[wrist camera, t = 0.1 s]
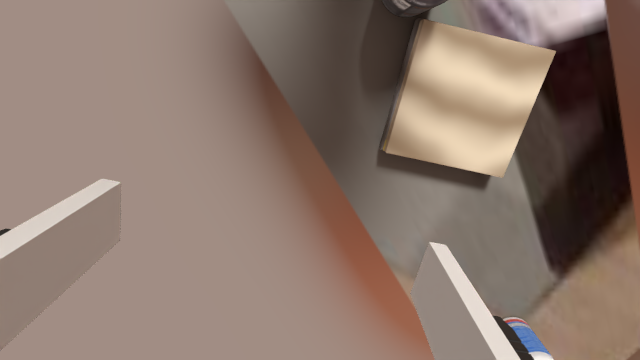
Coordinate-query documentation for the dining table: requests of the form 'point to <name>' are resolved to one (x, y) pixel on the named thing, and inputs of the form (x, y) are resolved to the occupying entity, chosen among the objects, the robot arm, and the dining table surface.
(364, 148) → the dining table surface
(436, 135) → the plate
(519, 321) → the pill bottle
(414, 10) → the pill bottle
